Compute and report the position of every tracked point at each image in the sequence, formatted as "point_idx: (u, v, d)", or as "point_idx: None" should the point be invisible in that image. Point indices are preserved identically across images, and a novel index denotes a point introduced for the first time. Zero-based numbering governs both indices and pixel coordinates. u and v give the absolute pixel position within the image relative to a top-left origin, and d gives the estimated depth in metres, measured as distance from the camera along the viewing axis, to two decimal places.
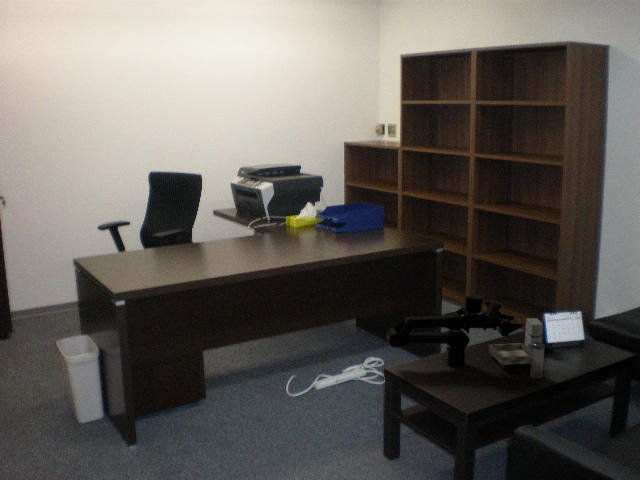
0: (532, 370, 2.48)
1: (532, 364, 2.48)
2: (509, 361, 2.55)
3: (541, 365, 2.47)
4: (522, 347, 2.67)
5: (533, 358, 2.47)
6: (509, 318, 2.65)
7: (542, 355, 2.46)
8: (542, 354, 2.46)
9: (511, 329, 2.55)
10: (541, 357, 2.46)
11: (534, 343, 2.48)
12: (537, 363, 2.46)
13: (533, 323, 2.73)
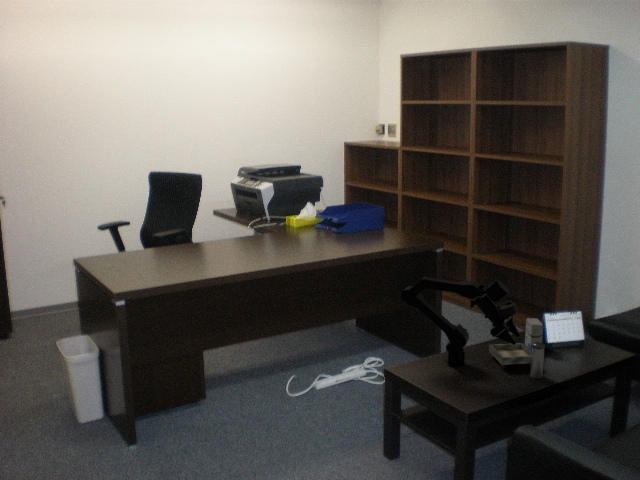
0: (532, 370, 2.48)
1: (532, 364, 2.48)
2: (509, 361, 2.55)
3: (541, 365, 2.47)
4: (522, 347, 2.67)
5: (533, 358, 2.47)
6: (514, 332, 2.55)
7: (542, 355, 2.46)
8: (542, 354, 2.46)
9: (503, 336, 2.46)
10: (541, 357, 2.46)
11: (534, 343, 2.48)
12: (537, 362, 2.46)
13: (533, 323, 2.73)
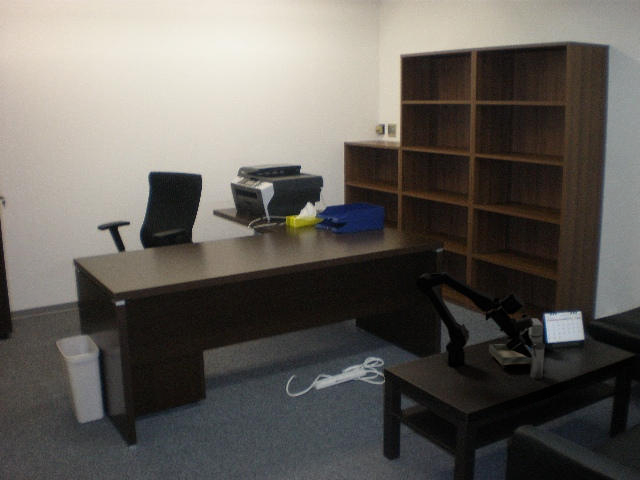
0: (532, 370, 2.48)
1: (532, 364, 2.48)
2: (509, 361, 2.55)
3: (541, 365, 2.47)
4: None
5: (533, 358, 2.47)
6: (530, 345, 2.53)
7: (542, 355, 2.46)
8: (542, 354, 2.46)
9: (519, 350, 2.44)
10: (541, 357, 2.46)
11: (534, 343, 2.48)
12: (537, 362, 2.46)
13: None
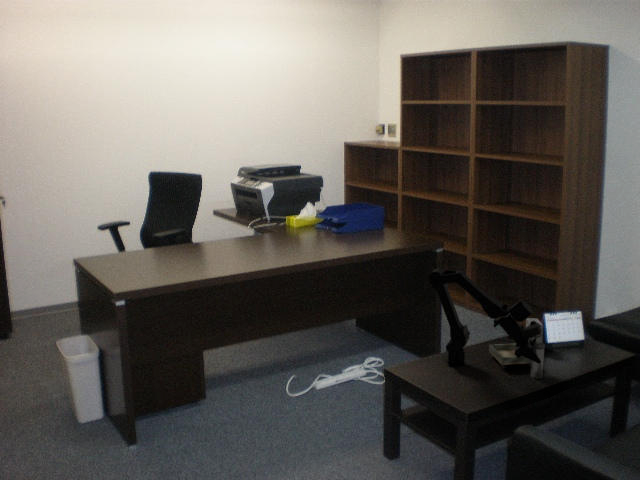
0: (532, 370, 2.48)
1: (532, 364, 2.48)
2: (509, 361, 2.55)
3: (541, 365, 2.47)
4: None
5: None
6: None
7: (542, 355, 2.46)
8: (542, 354, 2.46)
9: (528, 355, 2.46)
10: (541, 357, 2.46)
11: (534, 343, 2.48)
12: None
13: None
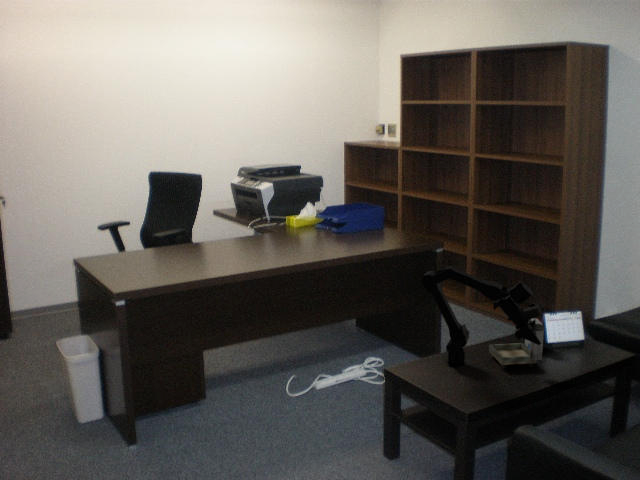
0: (532, 352, 2.48)
1: (532, 346, 2.48)
2: (509, 361, 2.55)
3: (541, 347, 2.47)
4: (522, 347, 2.67)
5: None
6: None
7: (542, 337, 2.46)
8: (542, 336, 2.46)
9: (528, 337, 2.45)
10: (541, 339, 2.46)
11: (534, 325, 2.47)
12: (536, 344, 2.46)
13: None
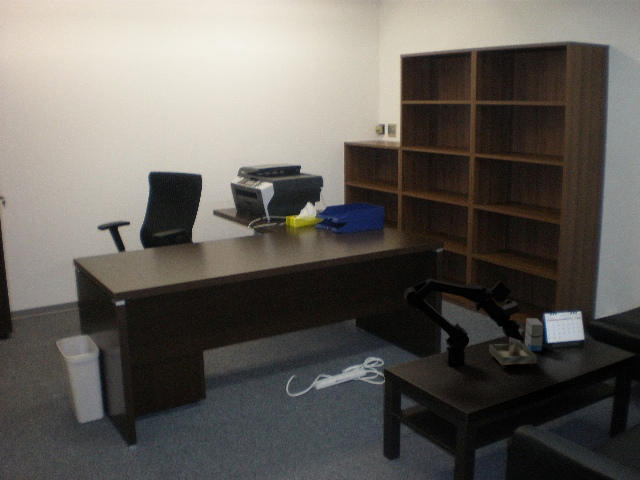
0: (512, 349, 2.60)
1: (512, 344, 2.60)
2: (509, 361, 2.55)
3: (520, 343, 2.60)
4: (522, 347, 2.67)
5: (513, 338, 2.59)
6: None
7: None
8: (520, 333, 2.59)
9: (513, 335, 2.54)
10: None
11: None
12: (517, 342, 2.59)
13: (533, 323, 2.73)
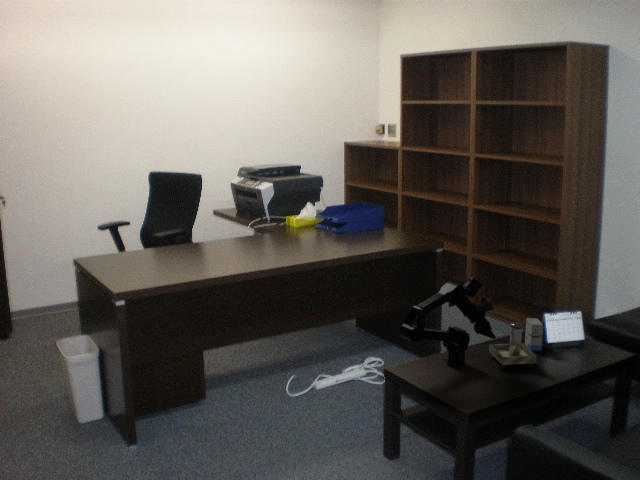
0: (513, 349, 2.60)
1: (512, 344, 2.60)
2: (509, 361, 2.55)
3: (520, 343, 2.60)
4: (522, 347, 2.67)
5: (514, 338, 2.59)
6: None
7: (521, 334, 2.59)
8: (521, 333, 2.59)
9: (484, 332, 2.54)
10: (521, 336, 2.59)
11: (513, 324, 2.60)
12: (517, 342, 2.59)
13: (533, 323, 2.73)
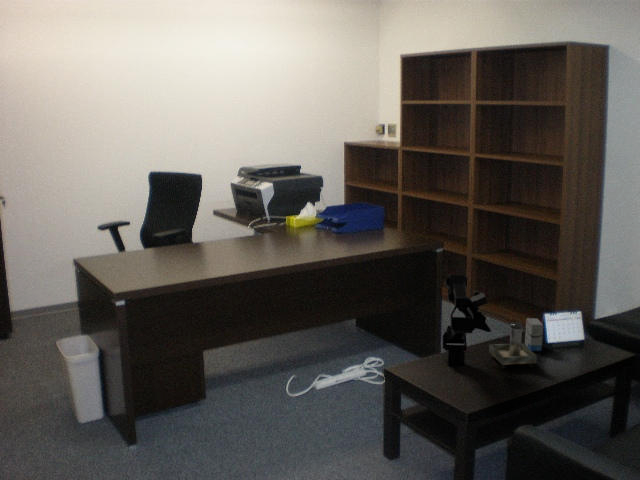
0: (513, 349, 2.60)
1: (512, 344, 2.60)
2: (509, 361, 2.55)
3: (520, 343, 2.60)
4: (522, 347, 2.67)
5: (514, 338, 2.59)
6: None
7: (521, 334, 2.59)
8: (521, 333, 2.59)
9: (480, 326, 2.57)
10: (521, 336, 2.59)
11: (513, 324, 2.60)
12: (517, 342, 2.59)
13: (533, 323, 2.73)
